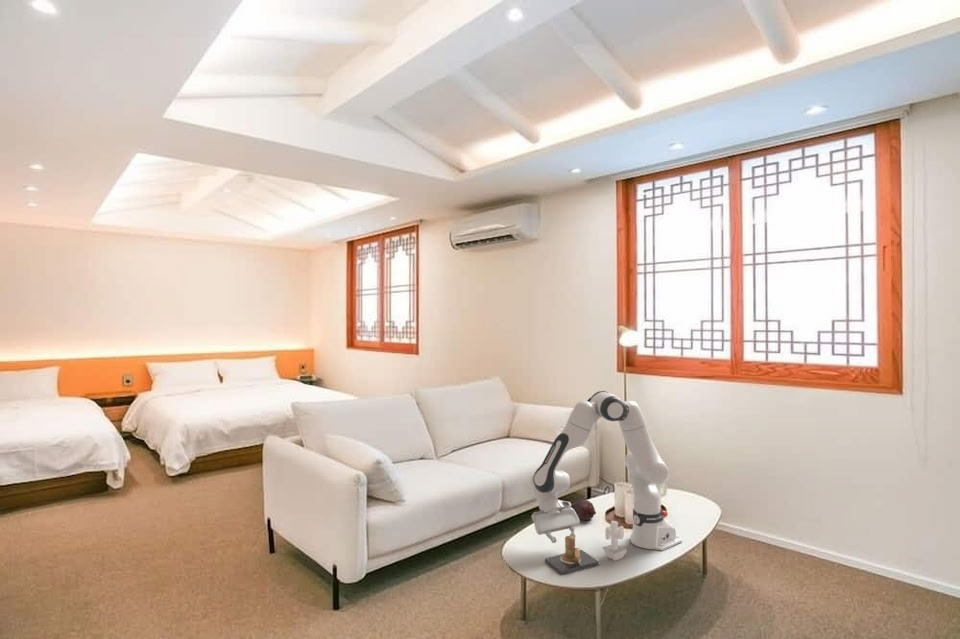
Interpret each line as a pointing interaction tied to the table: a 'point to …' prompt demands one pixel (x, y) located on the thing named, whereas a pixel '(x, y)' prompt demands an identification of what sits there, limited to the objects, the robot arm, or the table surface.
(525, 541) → the table surface
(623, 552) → the figurine
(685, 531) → the table surface
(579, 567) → the base plate
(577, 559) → the dowel
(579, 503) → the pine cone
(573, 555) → the flange hub
